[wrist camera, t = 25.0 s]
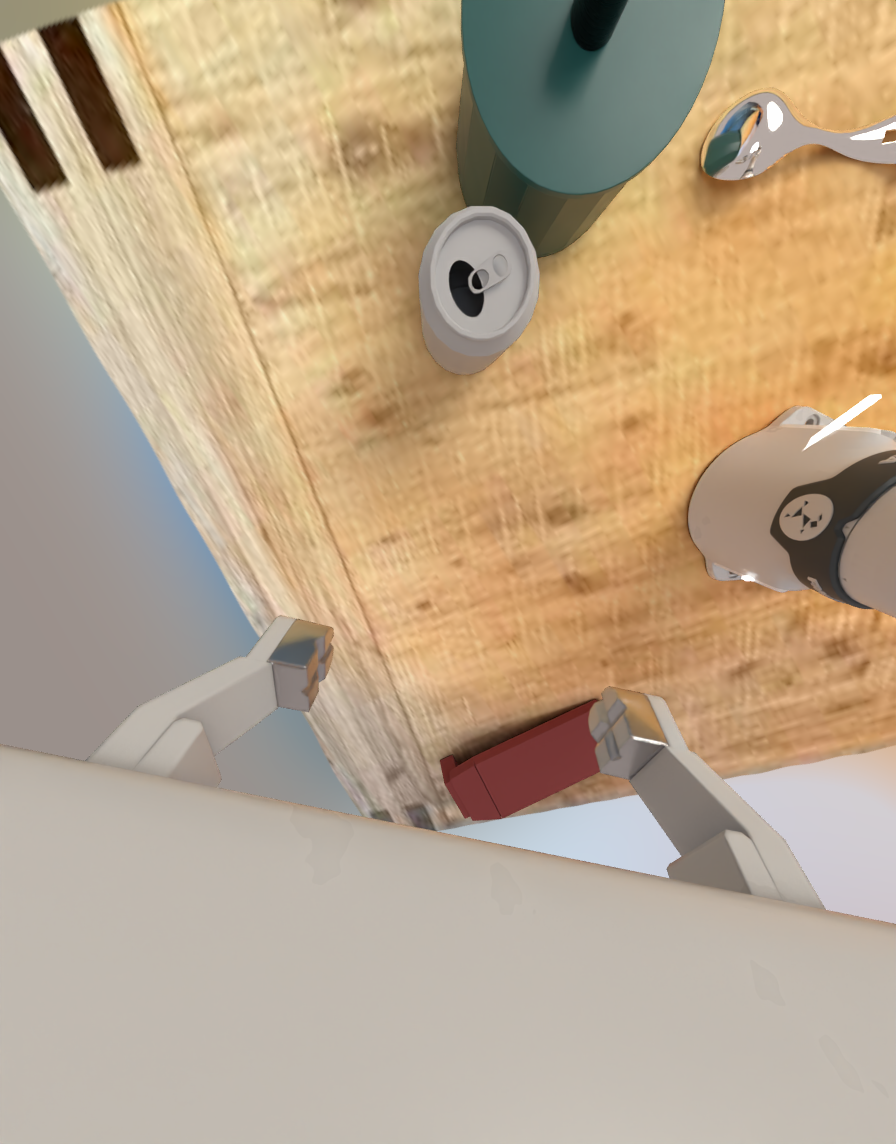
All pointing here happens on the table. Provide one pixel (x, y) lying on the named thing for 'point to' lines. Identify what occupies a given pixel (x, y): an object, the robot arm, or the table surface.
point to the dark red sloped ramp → (524, 767)
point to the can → (476, 288)
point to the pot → (518, 189)
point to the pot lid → (585, 83)
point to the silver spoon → (782, 137)
